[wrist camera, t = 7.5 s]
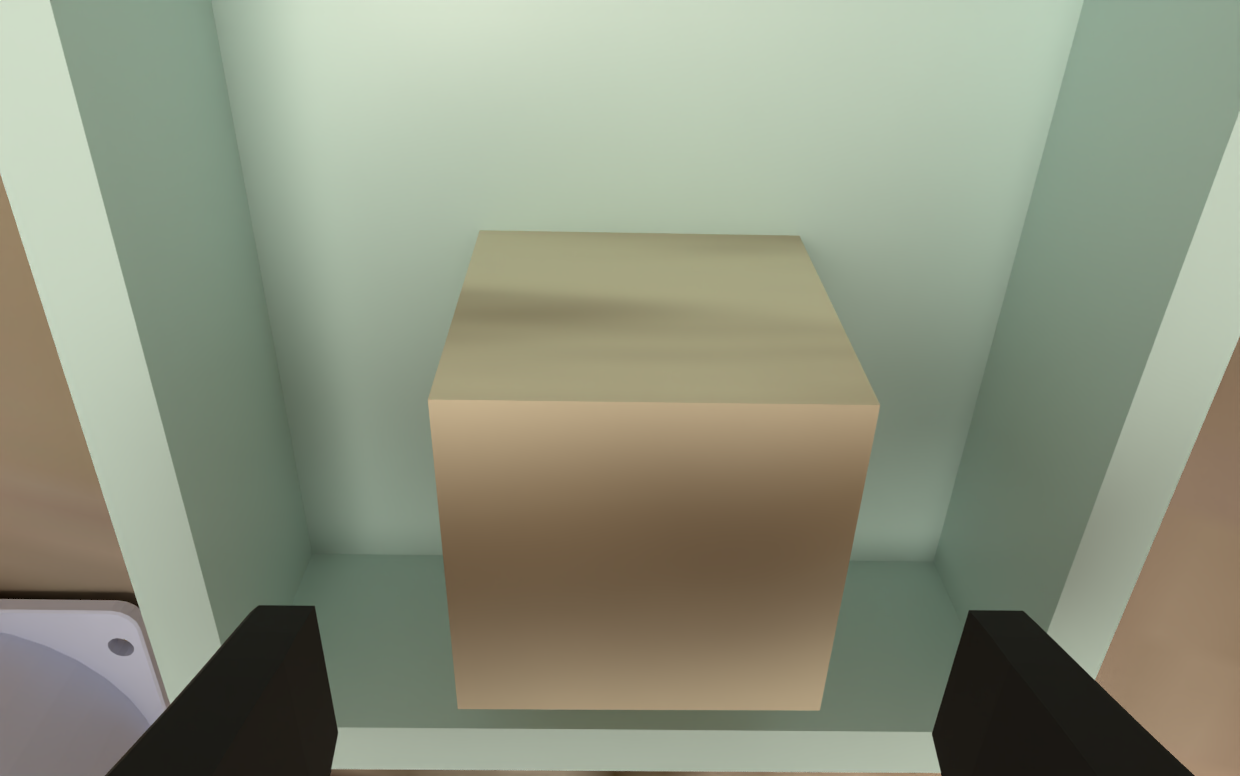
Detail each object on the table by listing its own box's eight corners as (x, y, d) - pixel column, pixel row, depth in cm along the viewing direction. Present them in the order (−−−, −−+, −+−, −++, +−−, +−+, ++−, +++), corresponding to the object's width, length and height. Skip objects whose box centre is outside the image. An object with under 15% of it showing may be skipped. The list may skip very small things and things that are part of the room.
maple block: (766, 490, 17) (819, 710, 13) (493, 487, 17) (457, 709, 13) (799, 235, 15) (880, 405, 10) (479, 229, 15) (427, 399, 10)
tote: (956, 566, 20) (1054, 774, 15) (282, 557, 19) (190, 768, 15) (1309, -670, 10) (1812, -1022, 6) (18, -737, 10) (-430, -1168, 6)
